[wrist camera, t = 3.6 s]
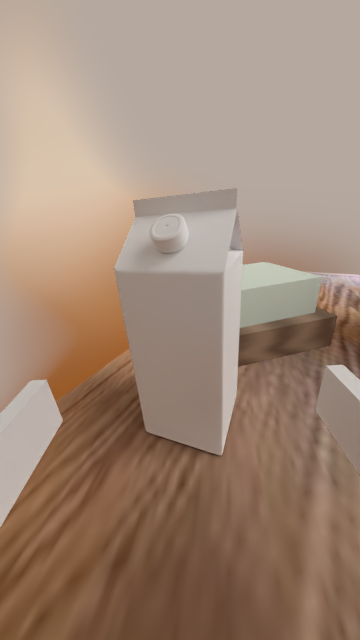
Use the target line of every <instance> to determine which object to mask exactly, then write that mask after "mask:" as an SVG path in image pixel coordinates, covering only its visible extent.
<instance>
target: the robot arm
mask: <svg viewBox="0 0 360 640" xmlns="http://www.w3.org/2000/svg"><path fill="white" fill-rule="evenodd" d="M315 411H316V412H317V414H318V415H319V417H320V418H321V420H322V421H323V423H324V424H325V426H326V427H327V428H328V430H329V431H330V433H331V434H332V436H333V437H334V439H335V440H336V442H337V443H338V445H339V446H340V448H341V449H342V451H343V452H344V453H345V455H346V456H347V458H348V459H349V461H350V462H351V464H352V465H353V467H354V468H355V470H356V471H357V473H358V474H359V476H360V380H359V379H358V378H357V377H356V376H355V375H354V374H353V373H352V372H350V371H349V370H348V369H347V368H346V367H345V366H344V365H328V366H326V368H325V372H324V376H323V380H322V384H321V388H320V392H319V396H318V400H317V404H316V408H315ZM62 422H63V419H62V416H61V414H60V412H59V409H58V407H57V404H56V402H55V399H54V397H53V395H52V392H51V390H50V387H49V385H48V382H47V380H31V381H30V382H29V383H28V384H27V385H26V386H25V387H24V388H23V389H22V391H21V392H20V393H19V394H18V395H17V396H16V397H15V398H14V399H13V400H12V401H11V402H10V403H9V405H8V406H7V407H6V408H5V409H4V410H3V411H2V412H1V413H0V527H1V525H2V524H3V522H4V520H5V519H6V517H7V515H8V513H9V512H10V510H11V508H12V507H13V505H14V503H15V502H16V500H17V498H18V496H19V495H20V493H21V491H22V490H23V488H24V486H25V485H26V483H27V481H28V479H29V478H30V476H31V474H32V473H33V471H34V469H35V468H36V466H37V464H38V462H39V461H40V459H41V457H42V456H43V454H44V452H45V451H46V449H47V447H48V445H49V444H50V442H51V440H52V439H53V437H54V435H55V434H56V432H57V430H58V428H59V427H60V425H61V423H62Z"/></svg>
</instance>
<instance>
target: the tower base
mask: <svg viewBox="0 0 360 640" xmlns="http://www.w3.org/2000/svg"><path fill="white" fill-rule="evenodd" d="M336 319H337V316H336V315H334V314H331V313H329V312H327V311H324V310H322V309H320V308H317V307H316V310H315V313H310V314H305V315H301V316H296V317H291V318H286V319H281V320H276V321H271V322H266V323H262V324H257V325H252V326H247V327H242V328H240V330H239V352H238V366H243V365H247V364H251V363H256V362H260V361H264V360H269V359H273V358H278V357H282V356H286V355H291V354H295V353H299V352H304V351H308V350H312V349H317V348H321V347H326V346H330V344H331V339H332V335H333V331H334V327H335V323H336Z"/></svg>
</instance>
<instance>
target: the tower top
mask: <svg viewBox="0 0 360 640" xmlns="http://www.w3.org/2000/svg"><path fill="white" fill-rule="evenodd" d="M321 280H322V277H321V276H317V275H313V274H310V273H306V272H302V271H298V270H294V269H290V268H287V267H282V266H279V265H275V264H271V263H267V262H261V263H254V264H247V265H242V285H241V308H240V328H242V327H247V326H252V325H257V324H262V323H266V322H271V321H276V320H281V319H286V318H291V317H296V316H301V315H305V314H310V313H315V310H316V305H317V300H318V295H319V290H320V285H321Z"/></svg>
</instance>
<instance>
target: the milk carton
mask: <svg viewBox="0 0 360 640" xmlns="http://www.w3.org/2000/svg"><path fill="white" fill-rule="evenodd" d="M133 203H134V210H135V220H134V222H133V224H132V227H131V229H130V232H129V234H128V237H127V239H126V241H125V244H124V246H123V249H122V251H121V253H120V256H119V258H118V261H117V263H116V265H115V268H114V270H115V276H116V282H117V287H118V292H119V297H120V302H121V307H122V312H123V318H124V322H125V327H126V333H127V338H128V343H129V348H130V353H131V359H132V364H133V369H134V374H135V379H136V384H137V389H138V394H139V399H140V405H141V410H142V415H143V420H144V425H145V430H146V431H147V432H149V433H152V434H155V435H158V436H161V437H164V438H167V439H170V440H173V441H176V442H179V443H182V444H185V445H188V446H191V447H194V448H198V449H201V450H204V451H207V452H210V453H213V454H216V455H222V454H223V449H224V445H225V441H226V437H227V433H228V428H229V424H230V420H231V416H232V412H233V407H234V403H235V399H236V395H237V374H238V352H239V330H240V308H241V285H242V262H243V246H242V238H241V231H240V224H239V216H238V207H237V206H238V189H237V188H234V189H226V190H218V191H209V192H200V193H193V194H183V195H176V196H167V197H158V198H150V199H141V200H134V201H133Z"/></svg>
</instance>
